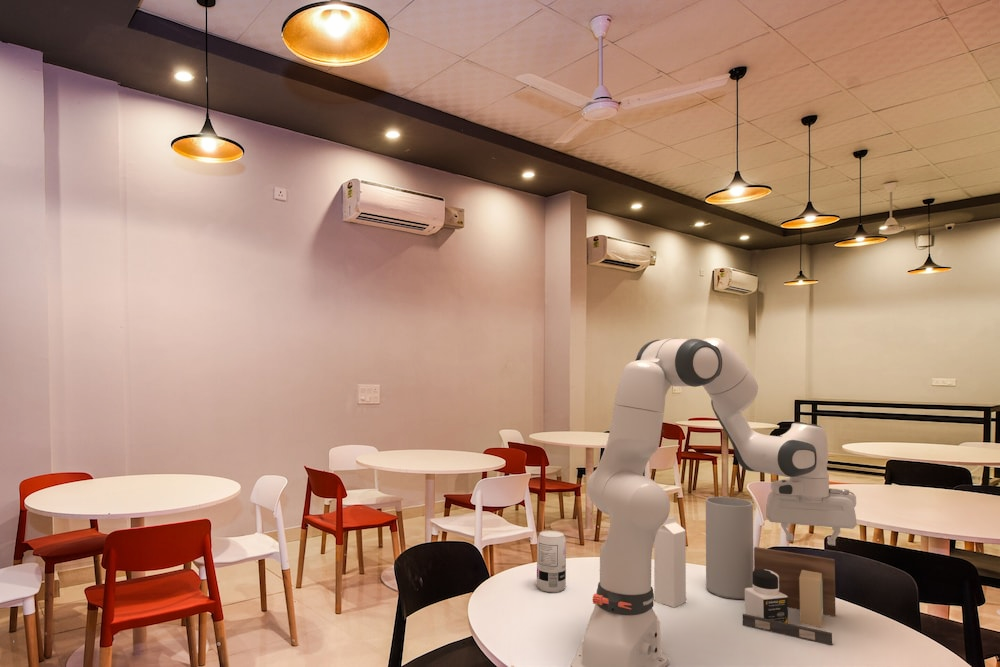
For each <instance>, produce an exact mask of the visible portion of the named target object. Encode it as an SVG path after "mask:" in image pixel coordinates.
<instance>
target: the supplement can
mask: <svg viewBox="0 0 1000 667" xmlns="http://www.w3.org/2000/svg"><path fill="white" fill-rule="evenodd" d="M536 541H537V542H536V586H537V587H538V589H539V590H540V591H542V592H547V593H559V592H562V591H564V589H565V588H566V587H567V585H566V584H567V583H566V582H567V580H566V579H567V577H566V576H567V574H566V573H567V569H566V568H567V538H566V536H565V534H564V532H562V531H559V530H550V529H549V530H542V531H540V532H539V534H538V536H537V539H536Z"/></svg>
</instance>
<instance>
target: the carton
mask: <svg viewBox="0 0 1000 667" xmlns="http://www.w3.org/2000/svg"><path fill="white" fill-rule="evenodd" d="M799 585H800V610H799V623H800V624H801V625H807V626H811V627H815V628H816V627H817V628H822V625H823V624H822V623H823V617H824V615H823V585H822V573H818V572H812V571H806V570H802V571H801V574H800V577H799Z"/></svg>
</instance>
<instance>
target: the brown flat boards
mask: <svg viewBox="0 0 1000 667" xmlns="http://www.w3.org/2000/svg"><path fill="white" fill-rule="evenodd" d="M753 562H754V571H755V570H758V569H765V570H770V571H773V572H775V573H776V574H778V576H779V592H781V593H783V594H785V595H787V597H788V609H789V608H790V609H795V610H799V611H800V585H799V577H800V574H801V571H802V570H806V571H812V572H818V573H822V585H823V614H824V615H823V616H828V615H830V616H829V617H833V616H837V614H836V613H837V612H836V610H837V609H836V608H837V606H836V571H835V570H836V567H835V566H836V564H835V562H836V561H835V559H834V558H828V557H822V556H818V555H817V556H816V555H811V554H803V553H796V552H791V551H790V552H789V551H784V550H778V549H772V548H766V547H760V546H753ZM742 626H744V627H745V626H746V627H749V628H754V629H759V630H762V631H767V632H772V633H776V634H780V635H785V636H789V637H794V638H798V639H802V640H806V641H812V642H816V643H820V644H825V645H829V646H833V633H832V632H831V631H826V630H820V629H817V628H816V629H815V628H811V627H808V626H803V625H802V626H801V625H797V624H794V623H789V622H788V623H784V622H780V621H775V620H770V619H766V618H761V617H756V616H752V615H747V614H745V613H742Z"/></svg>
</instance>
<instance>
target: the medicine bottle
mask: <svg viewBox="0 0 1000 667" xmlns="http://www.w3.org/2000/svg"><path fill="white" fill-rule="evenodd" d="M752 579H753V587H752V588H745V599H744V614H747V615H752V616H756V617H761V618H766V619H770V620H775V621H780V622H784V623H789V610H788V609H789V608H788V597H787V595H785V594H783V593H781V592H779V576H778V574H776V573H775V572H773V571H770V570H765V569H758V570H755V571H753V573H752Z"/></svg>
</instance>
